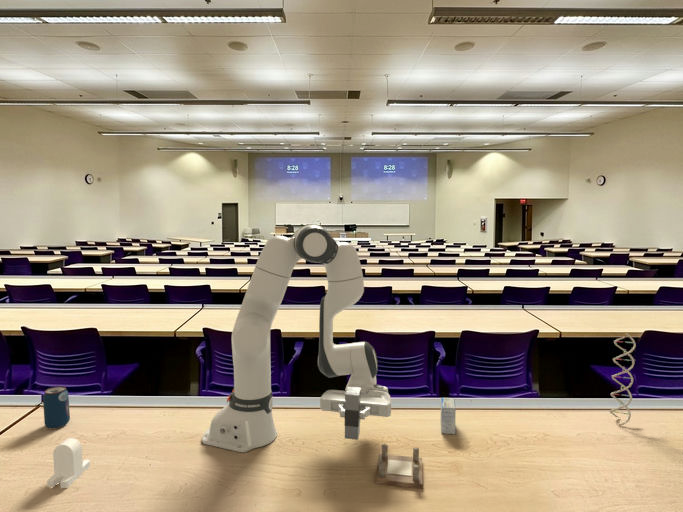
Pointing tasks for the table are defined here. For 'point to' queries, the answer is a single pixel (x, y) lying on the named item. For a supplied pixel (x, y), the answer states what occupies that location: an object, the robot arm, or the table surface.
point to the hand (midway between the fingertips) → (352, 415)
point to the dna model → (624, 377)
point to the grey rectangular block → (352, 413)
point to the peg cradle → (399, 469)
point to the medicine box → (448, 415)
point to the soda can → (56, 407)
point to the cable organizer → (67, 463)
